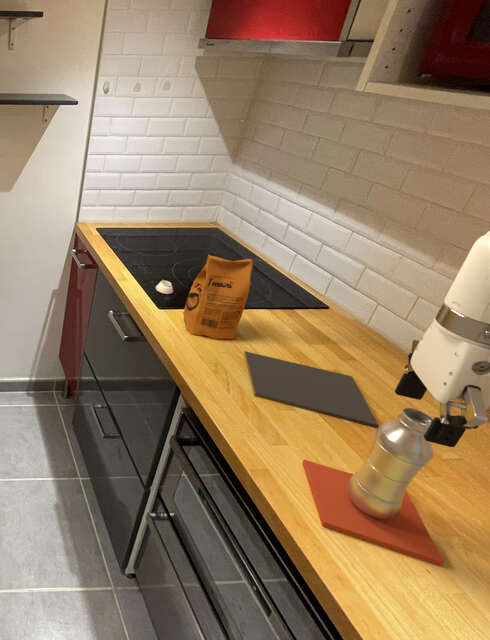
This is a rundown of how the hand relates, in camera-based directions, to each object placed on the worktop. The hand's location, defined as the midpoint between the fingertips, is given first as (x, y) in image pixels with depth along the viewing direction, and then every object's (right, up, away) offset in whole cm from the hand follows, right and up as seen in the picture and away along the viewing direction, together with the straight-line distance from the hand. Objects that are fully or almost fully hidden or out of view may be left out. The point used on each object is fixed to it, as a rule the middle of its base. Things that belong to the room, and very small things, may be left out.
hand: (421, 418), depth 67 cm
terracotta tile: (-1, -19, +9) cm, 21 cm away
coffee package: (-1, +2, +56) cm, 56 cm away
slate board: (+10, -7, +35) cm, 37 cm away
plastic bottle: (-1, -18, +8) cm, 20 cm away
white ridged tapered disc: (-5, +11, +74) cm, 75 cm away
